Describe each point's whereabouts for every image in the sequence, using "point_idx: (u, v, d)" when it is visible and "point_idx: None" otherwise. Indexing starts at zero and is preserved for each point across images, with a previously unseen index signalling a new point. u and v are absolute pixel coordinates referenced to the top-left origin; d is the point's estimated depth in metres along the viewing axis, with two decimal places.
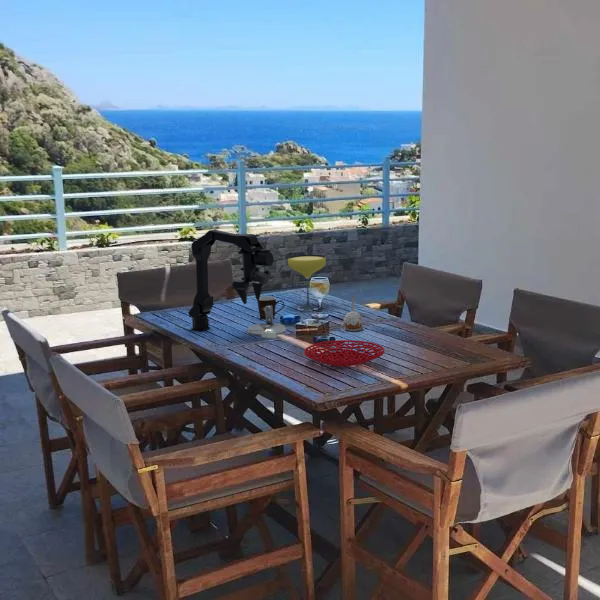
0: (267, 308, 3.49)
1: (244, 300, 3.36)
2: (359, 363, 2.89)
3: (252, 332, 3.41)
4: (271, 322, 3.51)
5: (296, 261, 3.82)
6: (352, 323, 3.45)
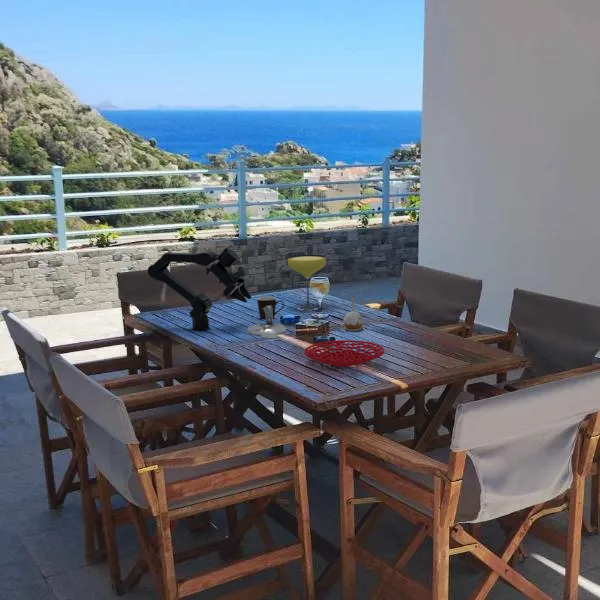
0: (267, 308, 3.49)
1: (243, 299, 3.46)
2: (359, 363, 2.89)
3: (252, 332, 3.41)
4: (271, 322, 3.51)
5: (296, 261, 3.82)
6: (352, 323, 3.45)
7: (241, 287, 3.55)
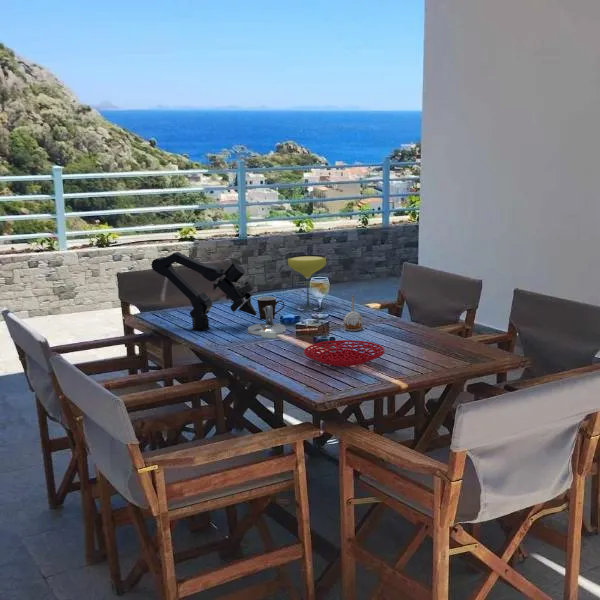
0: (267, 308, 3.49)
1: (253, 312, 3.51)
2: (359, 363, 2.89)
3: (252, 332, 3.41)
4: (271, 322, 3.51)
5: (296, 261, 3.82)
6: (352, 323, 3.45)
7: None
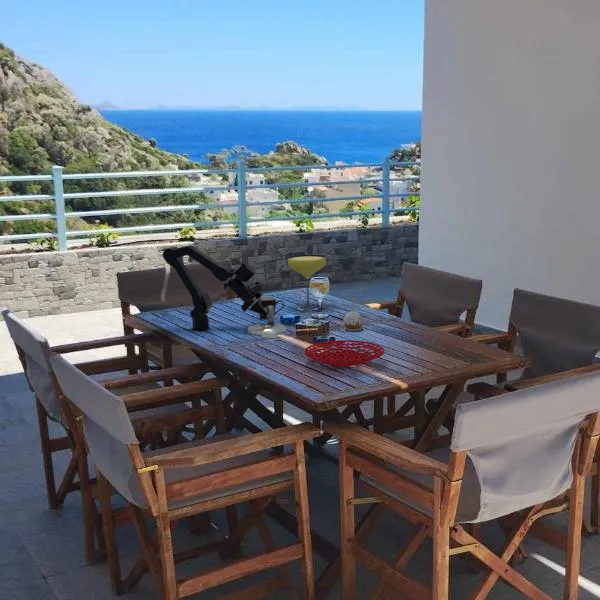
0: (268, 308, 3.49)
1: (263, 312, 3.50)
2: (359, 363, 2.89)
3: (251, 332, 3.42)
4: (272, 322, 3.51)
5: (296, 261, 3.82)
6: (352, 323, 3.45)
7: None
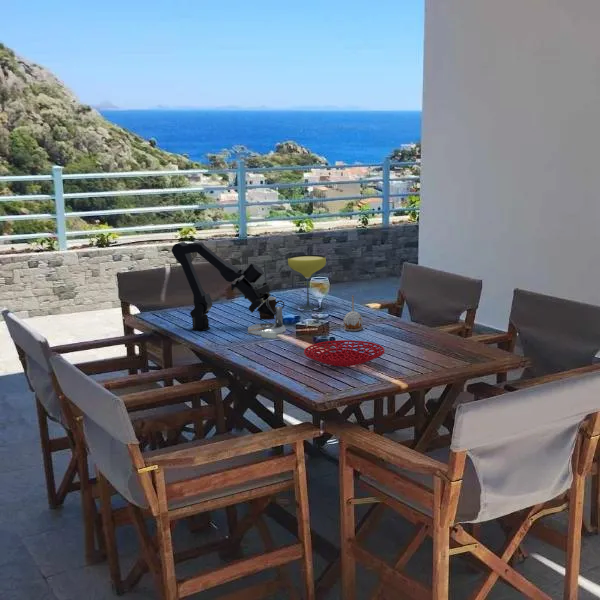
0: (275, 309, 3.47)
1: (271, 313, 3.49)
2: (359, 363, 2.89)
3: (248, 329, 3.47)
4: (278, 324, 3.48)
5: (296, 261, 3.82)
6: (352, 323, 3.45)
7: None
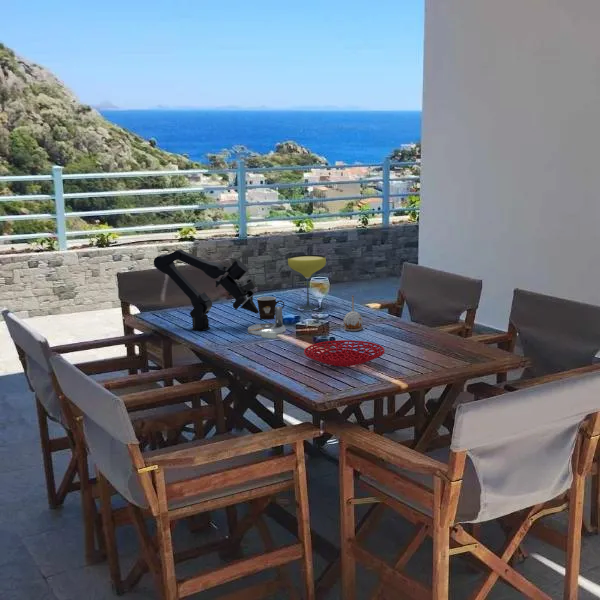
0: (275, 309, 3.47)
1: (255, 310, 3.50)
2: (359, 363, 2.89)
3: (248, 329, 3.47)
4: (278, 324, 3.48)
5: (296, 261, 3.82)
6: (352, 323, 3.45)
7: None
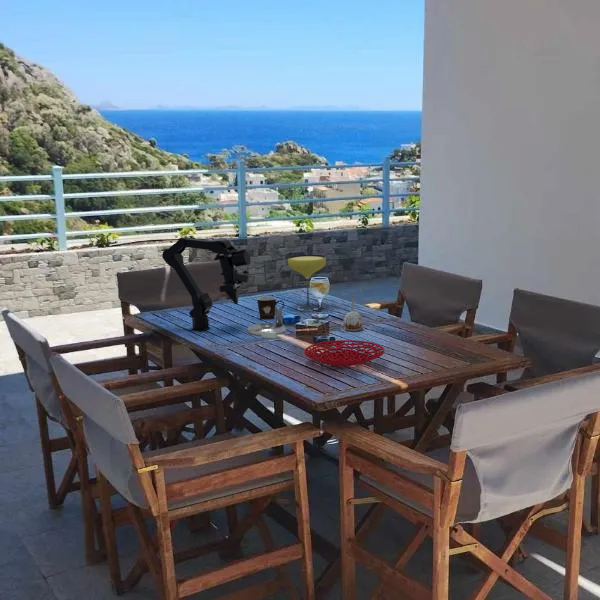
0: (275, 309, 3.47)
1: (235, 300, 3.49)
2: (359, 363, 2.89)
3: (248, 329, 3.47)
4: (278, 324, 3.48)
5: (296, 261, 3.82)
6: (352, 323, 3.45)
7: None
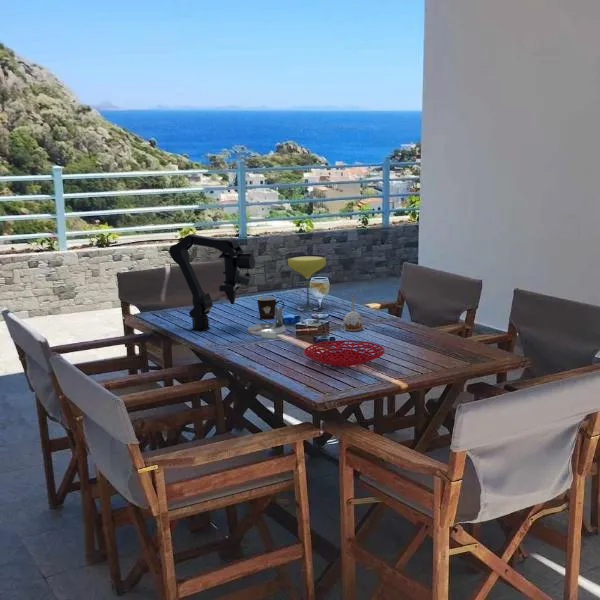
0: (275, 309, 3.47)
1: (232, 300, 3.49)
2: (359, 363, 2.89)
3: (248, 329, 3.47)
4: (278, 324, 3.48)
5: (296, 261, 3.82)
6: (352, 323, 3.45)
7: None
